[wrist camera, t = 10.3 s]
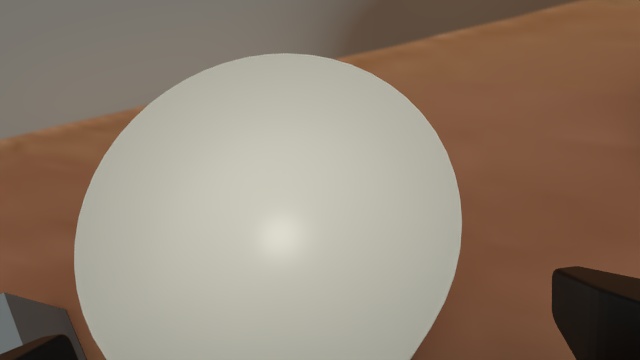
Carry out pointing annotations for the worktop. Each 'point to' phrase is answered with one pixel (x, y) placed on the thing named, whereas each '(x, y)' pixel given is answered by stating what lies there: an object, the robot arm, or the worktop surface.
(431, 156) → the white cylinder
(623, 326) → the robot arm
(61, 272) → the worktop surface
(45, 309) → the tote
